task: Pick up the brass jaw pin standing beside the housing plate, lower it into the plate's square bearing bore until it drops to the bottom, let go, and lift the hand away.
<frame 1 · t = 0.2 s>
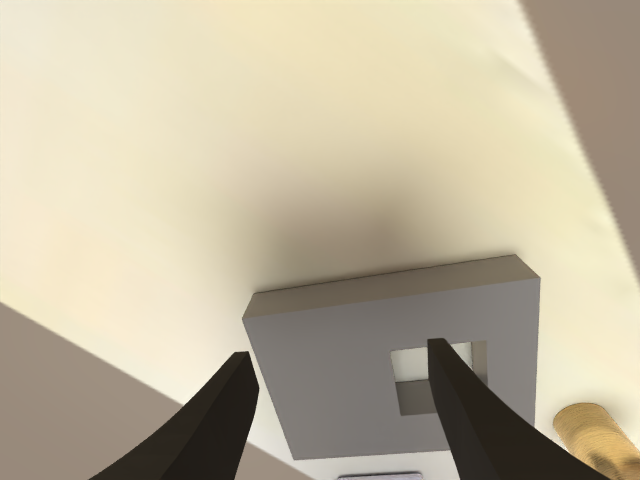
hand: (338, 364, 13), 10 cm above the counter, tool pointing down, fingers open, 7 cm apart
jaw pin: (580, 420, 26), on the counter
housing: (390, 354, 25), on the counter
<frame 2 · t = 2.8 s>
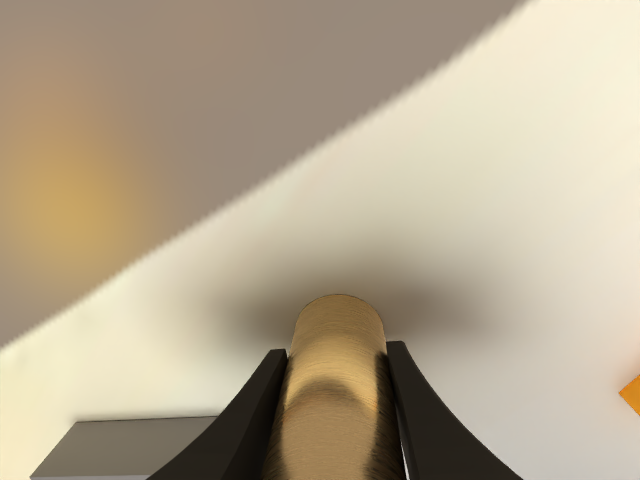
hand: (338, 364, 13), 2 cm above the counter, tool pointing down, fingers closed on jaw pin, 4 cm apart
jaw pin: (339, 332, 15), on the counter, touching gripper
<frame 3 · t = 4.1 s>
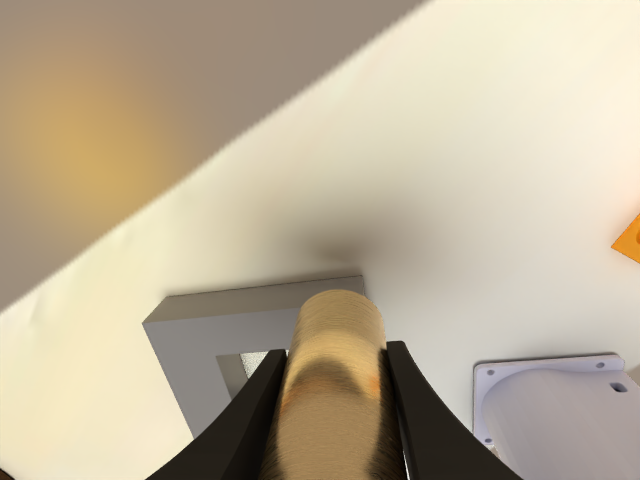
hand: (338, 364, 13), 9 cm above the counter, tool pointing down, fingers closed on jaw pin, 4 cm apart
jaw pin: (339, 327, 15), point 7 cm above the counter, touching gripper
housing: (286, 384, 26), on the counter
when the fingers open (4 cm above the counter, at t = 5.9 s): jaw pin drops 2 cm, resting in housing.
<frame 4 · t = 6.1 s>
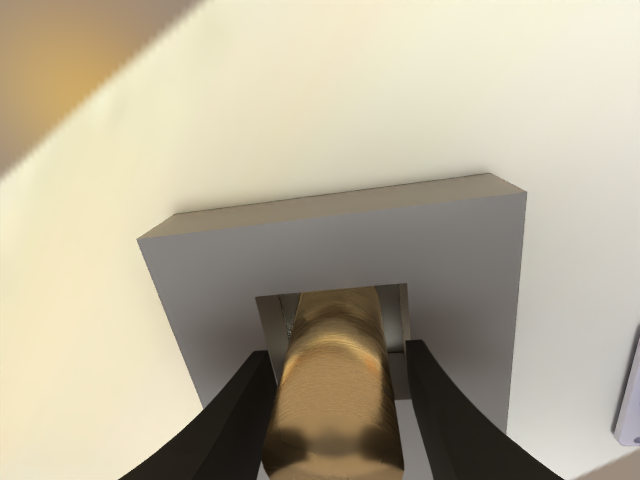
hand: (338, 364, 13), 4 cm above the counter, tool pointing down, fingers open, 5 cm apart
jaw pin: (339, 303, 17), resting in housing
housing: (347, 355, 18), on the counter
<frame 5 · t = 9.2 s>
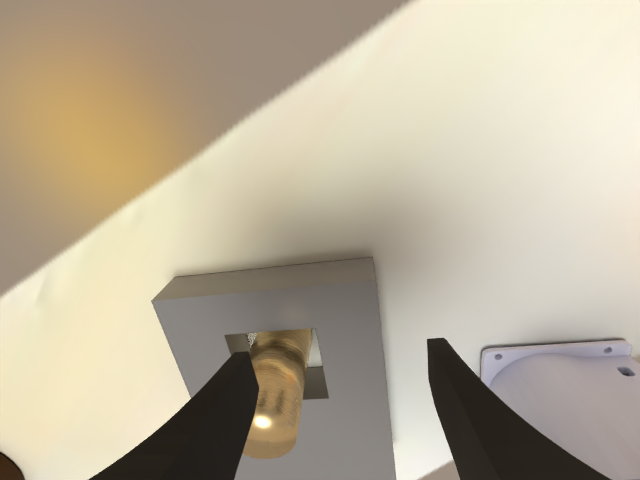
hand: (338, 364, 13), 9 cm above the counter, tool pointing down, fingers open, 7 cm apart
jaw pin: (285, 334, 25), resting in housing
housing: (293, 368, 26), on the counter
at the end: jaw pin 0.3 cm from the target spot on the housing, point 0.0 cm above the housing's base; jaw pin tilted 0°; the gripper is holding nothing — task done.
